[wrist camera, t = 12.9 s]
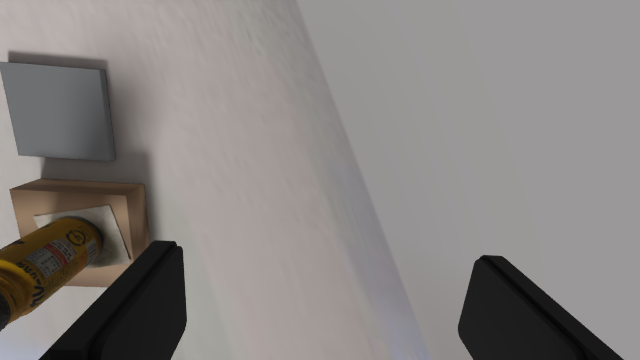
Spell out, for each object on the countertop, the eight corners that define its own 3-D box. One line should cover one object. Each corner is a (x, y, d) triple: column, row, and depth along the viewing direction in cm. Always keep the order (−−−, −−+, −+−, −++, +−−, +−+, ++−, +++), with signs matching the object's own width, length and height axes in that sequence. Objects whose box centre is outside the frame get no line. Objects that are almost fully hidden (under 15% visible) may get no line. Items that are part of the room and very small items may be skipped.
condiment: (34, 216, 34) (-105, 283, 22) (110, 204, 34) (10, 265, 22) (60, 272, 36) (-55, 359, 24) (131, 261, 36) (51, 343, 24)
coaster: (7, 62, 33) (-2, 61, 32) (105, 70, 33) (99, 69, 32) (26, 153, 35) (18, 155, 34) (115, 159, 36) (110, 161, 35)
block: (40, 178, 36) (9, 189, 33) (144, 184, 37) (125, 195, 33) (57, 265, 40) (31, 284, 36) (152, 269, 41) (136, 288, 37)
